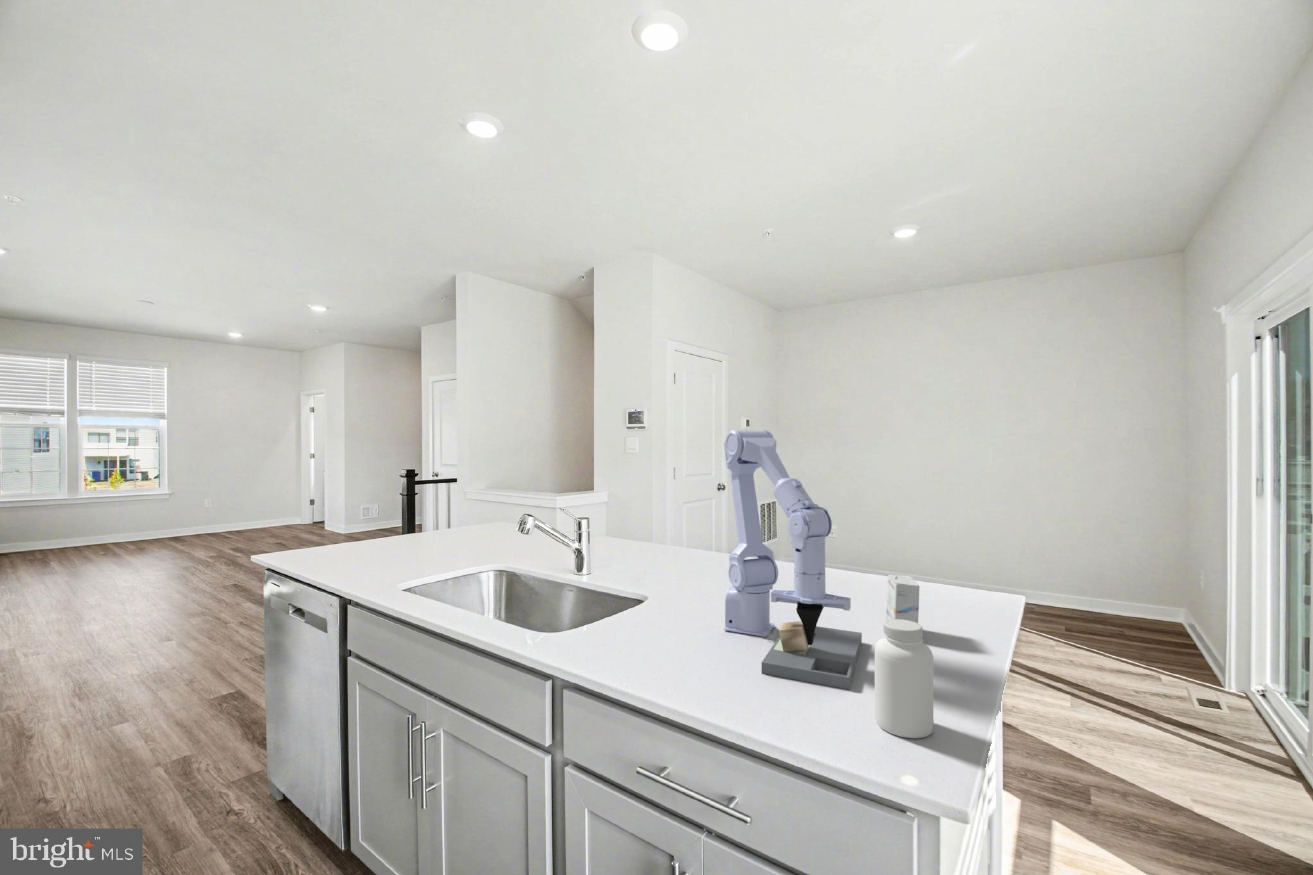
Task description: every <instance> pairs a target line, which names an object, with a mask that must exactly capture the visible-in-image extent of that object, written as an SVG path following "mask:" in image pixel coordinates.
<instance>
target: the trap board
mask: <svg viewBox="0 0 1313 875" xmlns="http://www.w3.org/2000/svg"><path fill="white" fill-rule="evenodd" d="M862 633H863V632H860V631H859V632H858V631H852V630H845V629H837V628H833V627H832V628H831V627H824V626H817V625H816V628H815V632H814V640H813V644H812V645H809V646H808V649H807V650H796V651H785V652H783V648H782V643H781V639H780V635H779V636H778V638H777V639H776V641H775V642H774V644H773V645H772V646H771V648H770V649H769V651H768V652H767V654H766V655H765V657H764V658H763V659H762V661H761V674H762V675H769V676H774V677H780V678H785V679H790V680H795V681H801V682H806V683H813V684H815V685H817V684H818V685H822V686H826V687H827V686H828V687H834V688H837V689H838V688H839V689H844V690H850V688H851V685H852V682H853V677H854V673H855V669H856V665H857V661H858V657H859V654H860V650H861V647H862V643H863V642H862V636H863V634H862ZM816 669H818V670H816ZM819 670H824V671H819ZM825 671H830V672H825ZM832 672H835V673H832ZM837 673H842V674H846V675H841V674H837Z"/></svg>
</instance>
